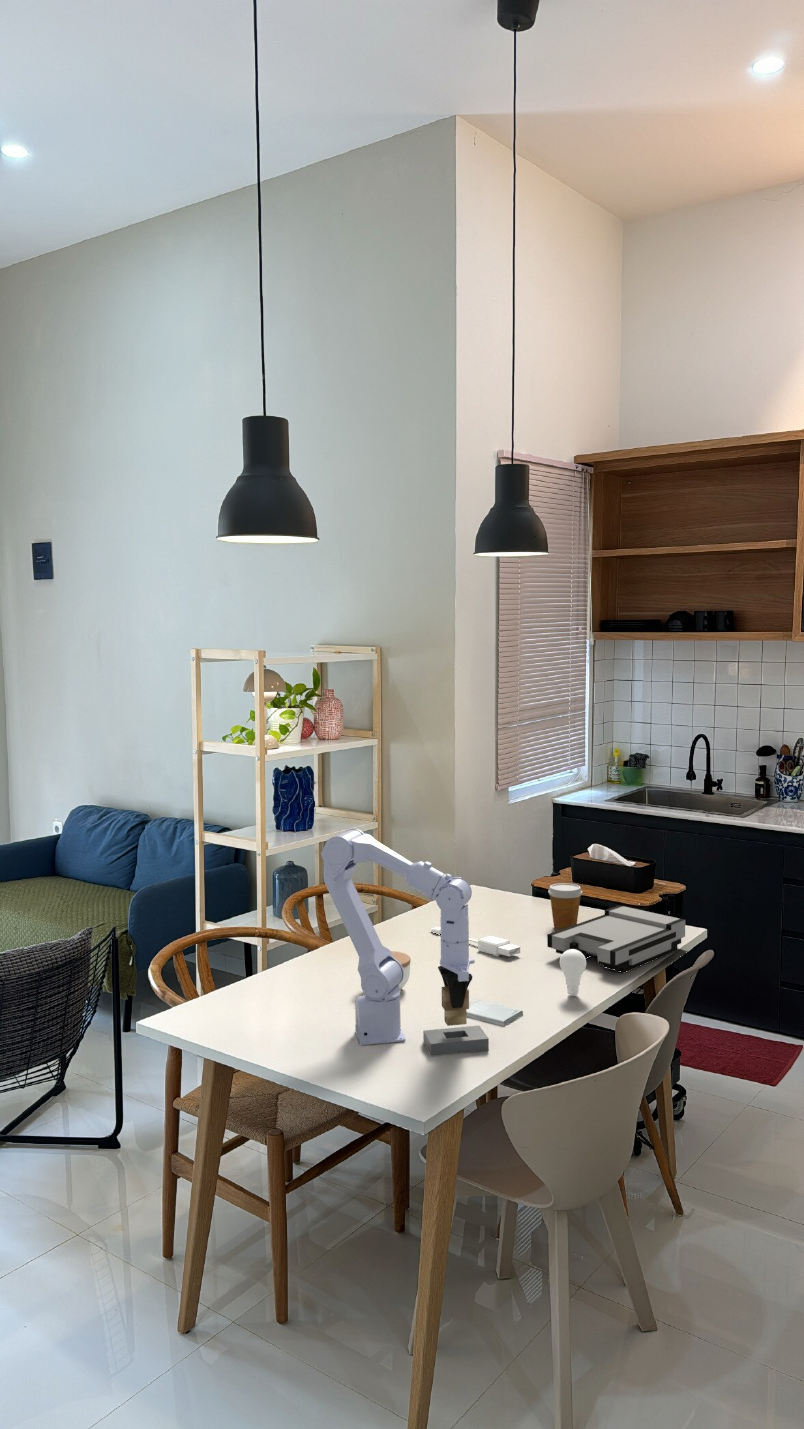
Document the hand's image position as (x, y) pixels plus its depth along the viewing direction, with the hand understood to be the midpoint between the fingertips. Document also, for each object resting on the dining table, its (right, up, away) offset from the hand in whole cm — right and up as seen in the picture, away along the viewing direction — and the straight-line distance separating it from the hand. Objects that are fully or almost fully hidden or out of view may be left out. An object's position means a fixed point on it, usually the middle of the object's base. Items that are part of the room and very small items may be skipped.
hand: (455, 1004), depth 207 cm
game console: (+45, -4, +58) cm, 74 cm away
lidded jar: (-14, -7, +34) cm, 37 cm away
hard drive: (+9, -8, +18) cm, 22 cm away
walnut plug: (0, -4, 0) cm, 4 cm away
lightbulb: (+29, -6, +28) cm, 41 cm away
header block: (0, -9, +1) cm, 9 cm away
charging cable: (+8, -4, +68) cm, 68 cm away
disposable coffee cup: (+36, -2, +81) cm, 89 cm away
